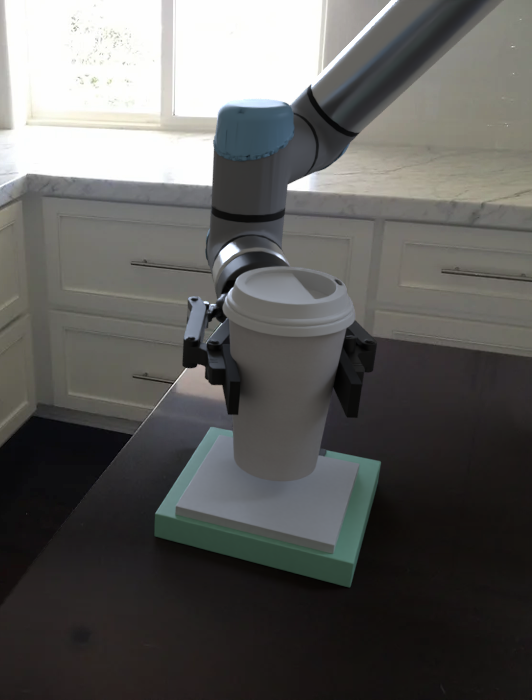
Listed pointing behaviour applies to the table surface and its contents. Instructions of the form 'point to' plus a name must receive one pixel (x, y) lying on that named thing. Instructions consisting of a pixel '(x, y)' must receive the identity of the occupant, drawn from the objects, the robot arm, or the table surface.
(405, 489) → the table surface
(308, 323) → the coffee cup
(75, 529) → the table surface
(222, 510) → the kitchen scale
